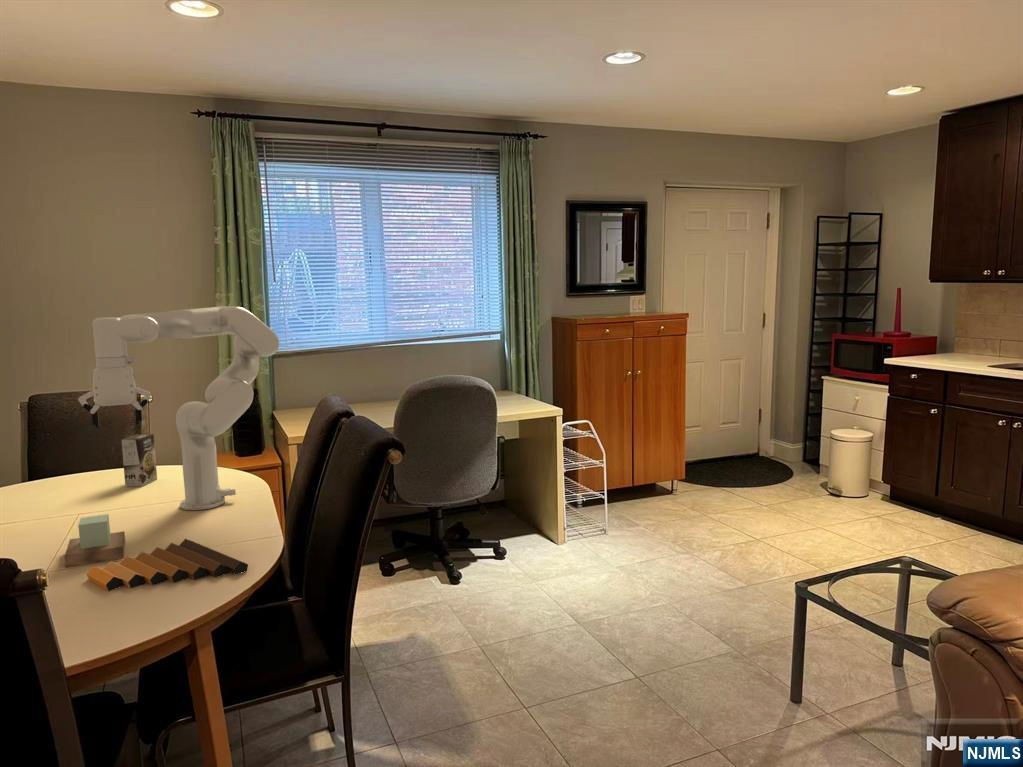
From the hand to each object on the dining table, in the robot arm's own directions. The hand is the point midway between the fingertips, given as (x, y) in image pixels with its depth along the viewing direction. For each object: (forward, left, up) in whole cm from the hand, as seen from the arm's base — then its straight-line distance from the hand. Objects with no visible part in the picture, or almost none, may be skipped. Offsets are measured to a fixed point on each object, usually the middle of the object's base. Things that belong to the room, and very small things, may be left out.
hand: (118, 425), depth 191 cm
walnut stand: (+6, +21, -28) cm, 36 cm away
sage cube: (+6, +21, -25) cm, 33 cm away
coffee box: (-3, -46, -28) cm, 54 cm away
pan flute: (-10, +44, -29) cm, 53 cm away
